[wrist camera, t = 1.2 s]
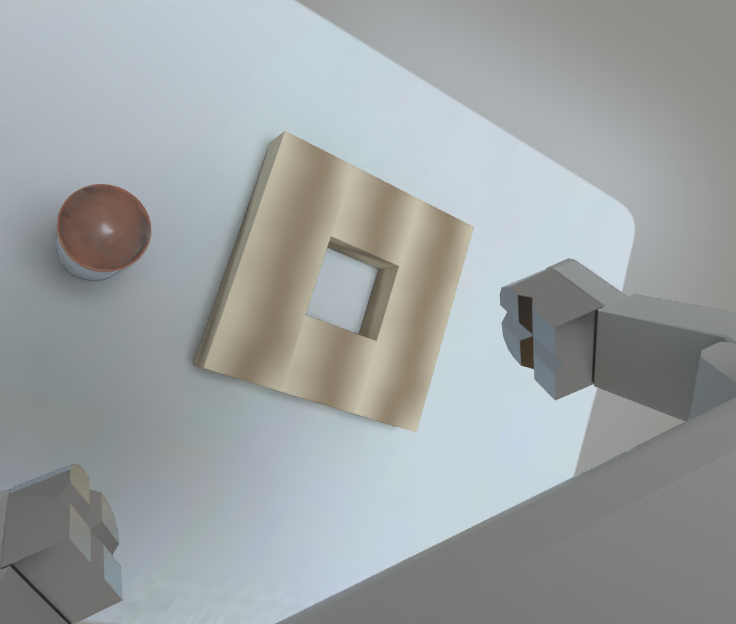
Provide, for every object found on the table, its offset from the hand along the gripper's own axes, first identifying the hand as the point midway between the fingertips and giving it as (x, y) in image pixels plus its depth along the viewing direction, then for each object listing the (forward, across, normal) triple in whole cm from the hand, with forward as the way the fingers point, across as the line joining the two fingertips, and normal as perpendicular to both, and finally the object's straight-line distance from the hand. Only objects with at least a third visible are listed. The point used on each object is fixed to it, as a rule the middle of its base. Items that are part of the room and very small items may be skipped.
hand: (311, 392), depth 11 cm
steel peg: (+28, +7, +8) cm, 31 cm away
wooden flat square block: (+28, -6, +17) cm, 33 cm away
